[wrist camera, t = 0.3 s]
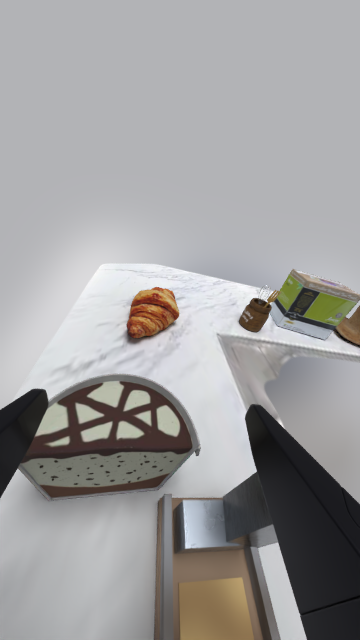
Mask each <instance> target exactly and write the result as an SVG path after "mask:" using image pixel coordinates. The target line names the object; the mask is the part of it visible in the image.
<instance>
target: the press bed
mask: <svg viewBox="0 0 360 640" xmlns="http://www.w3.org/2000/svg"><path fill="white" fill-rule="evenodd" d="M183 500H223V498H172V494H164V496H163V497H162V498H160V500H159V501H158V526H157V561H156V596H155V631H154V640H281V639H280V635H279V631H278V627H277V623H276V619H275V615H274V611H273V607H272V603H271V599H270V595H269V591H268V588H267V584H266V580H265V576H264V572H263V568H262V564H261V560H260V556H259V552H258V548H256V547H249V548H245V549H242V550H230V551H214V552H198V553H182V554H175V544H174V509H175V508H176V507H177V506H178V505H179V504H180V503H181V502H182V501H183Z"/></svg>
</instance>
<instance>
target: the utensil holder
mask: <svg viewBox="0 0 360 640" xmlns="http://www.w3.org/2000/svg"><path fill="white" fill-rule="evenodd" d="M261 289H262V288H261ZM263 290H265V289H263ZM260 291H261V290H260ZM270 291H271V290H270ZM262 292H264V291H262ZM266 292H267V291H266ZM275 292H276V290H275V291H274V292H273V293H272V294H271V296H270V297H269V298H268V296H269V294H270V293H269V294H268V296H267V298H268V299H267V301H268V303H267V302H266V301H264V299H262V300H261V299H259V296H258V298H253V299H252V300H251V301H250V304H249V305H247V306H246V308H245V310H244V311H243V313H242V315H241V317H240V320H239V322H240V324H241V325H242V326H243V327H244V328H245V329H247V330H249V331H252V332H258V331H259V330H260V329H261V328H262V327H263V325H264V323H265V322H266V320H267V319H268V316H269V312H270V311H271V309H272V306H271V305H270V304H269V303H270V302H274V301H275V299H276V298H277V297H278V296H279V295H280V293H281V291H280V292H279V291H277V292H276V293H275ZM278 292H279V293H278ZM274 293H275V294H274ZM277 293H278V295H277V296H276V294H277ZM259 294H260V292H259ZM273 294H274V296H273ZM266 295H267V294H266ZM272 296H273V297H272ZM275 296H276V297H275ZM265 297H266V296H265ZM271 297H272V298H271ZM274 297H275V298H274Z"/></svg>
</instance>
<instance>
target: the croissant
mask: <svg viewBox="0 0 360 640" xmlns="http://www.w3.org/2000/svg"><path fill="white" fill-rule="evenodd" d="M178 317H179V310H178V307H177V304H176V301H175V296H174V294H173V292H172V291H170V290H168V289H162V288H159V287H155V288H153V289H151V290H144V291H140V292H139V293H138V294H137V295H136V296H135V298H134V299H133V301H132V305H131V309H130V315H129V321H128V323H127V329H128V334H129V336H130V337H133V338H140V337H143V336H150V335H154V334H156V333H157V332H159V331H160V330H164V329H165V328H167V326H168V325H170V324H171V323H173V322H174V321H175V320H176V319H177V318H178Z"/></svg>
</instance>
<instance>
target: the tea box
mask: <svg viewBox="0 0 360 640" xmlns="http://www.w3.org/2000/svg"><path fill="white" fill-rule="evenodd" d="M280 291H281V293H280V295H279V296H278V297H277V298H276V299H275V301H274V302H273V303H272V305H271V306H272V309H271V311H270V314H271V316H272V318H273V319H274V321H275V323H276V324H277V326H279V327H283V328H286V329H290V330H293V331H297V332H300V333H304V334H307V335H311V336H314V337H317V338H321V339H324V340H326V339H327V337H328V336H329V335H330V334H331V333H332V332H333V330H334V329H335V328H336V327H337V326H338V325H339V324H340V322H341V321H342V320H343V319H344V318H345V317H346V315H347V314H348V313H349V312H350V311H351V309H352V308H353V307H354V306H355V305H356V304H357V303H358V301H359V300H360V295H359V294H357V293H355V292H354V291H352V290H351V289H349V288H347V287H346V286H344V285H342V284H340V283H338V282H336V281H332V280H328V279H325V278H322V277H318V276H315V275H312V274H308V273H305V272H301V271H298V270H294V269H293V270H292V271H291V273H290V274H289V276H288V278H287V279H286V281H285V283H284V284H283V286H282V288H281V289H280ZM280 291H279V292H280ZM277 295H278V294H277Z"/></svg>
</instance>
